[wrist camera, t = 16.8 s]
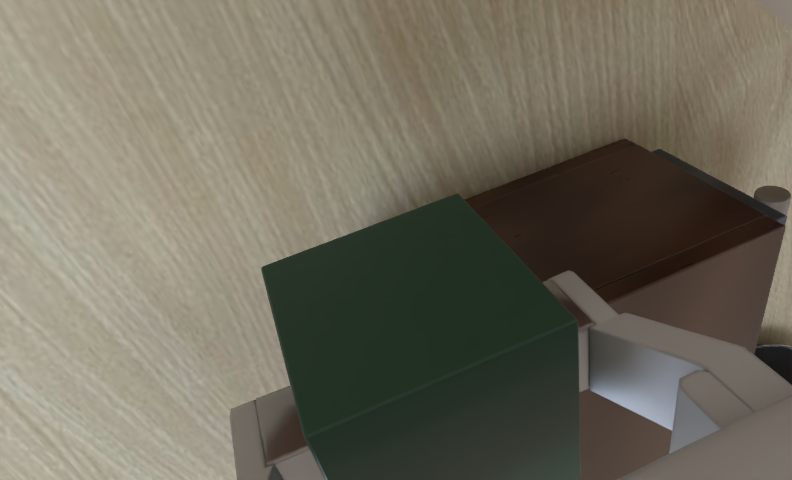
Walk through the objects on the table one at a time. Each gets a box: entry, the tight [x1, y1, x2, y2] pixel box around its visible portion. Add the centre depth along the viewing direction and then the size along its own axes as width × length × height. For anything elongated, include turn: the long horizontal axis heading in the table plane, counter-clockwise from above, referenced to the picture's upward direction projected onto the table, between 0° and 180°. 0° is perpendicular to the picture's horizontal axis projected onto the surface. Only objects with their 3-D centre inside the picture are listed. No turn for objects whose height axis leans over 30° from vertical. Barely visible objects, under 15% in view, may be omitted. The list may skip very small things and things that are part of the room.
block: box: [261, 194, 581, 480], centre depth 11 cm, size 4×4×4 cm
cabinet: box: [465, 139, 785, 480], centre depth 26 cm, size 14×12×9 cm
